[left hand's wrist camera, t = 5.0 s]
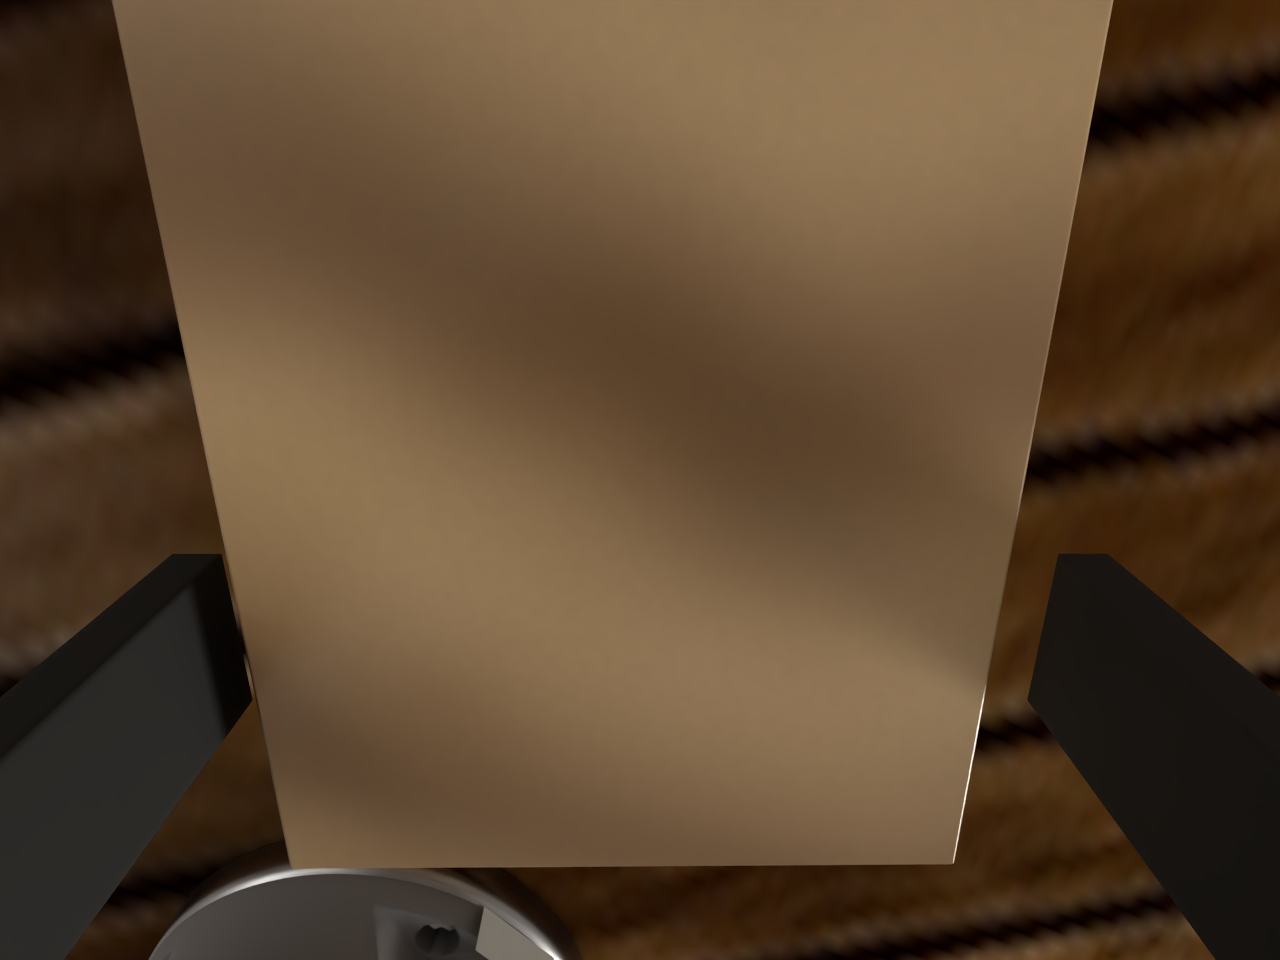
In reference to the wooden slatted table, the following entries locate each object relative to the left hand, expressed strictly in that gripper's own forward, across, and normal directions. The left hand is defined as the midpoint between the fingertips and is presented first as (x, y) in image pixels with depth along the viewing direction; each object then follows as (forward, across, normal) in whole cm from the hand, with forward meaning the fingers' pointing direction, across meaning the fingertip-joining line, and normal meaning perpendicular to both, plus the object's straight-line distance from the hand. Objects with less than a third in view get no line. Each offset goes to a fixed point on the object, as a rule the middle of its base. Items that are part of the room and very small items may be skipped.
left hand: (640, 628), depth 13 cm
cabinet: (+10, 0, -6) cm, 11 cm away
